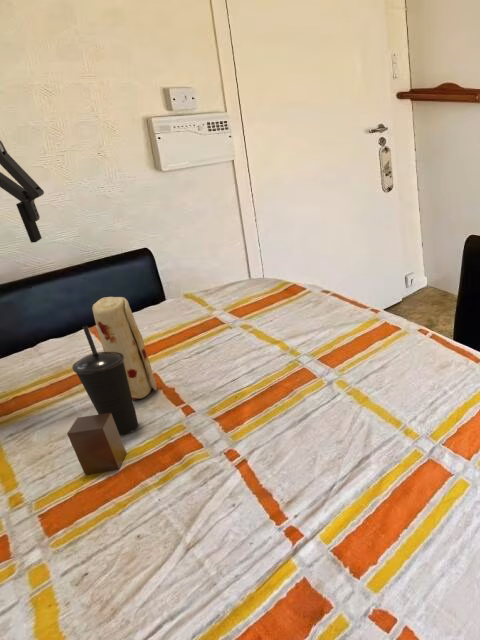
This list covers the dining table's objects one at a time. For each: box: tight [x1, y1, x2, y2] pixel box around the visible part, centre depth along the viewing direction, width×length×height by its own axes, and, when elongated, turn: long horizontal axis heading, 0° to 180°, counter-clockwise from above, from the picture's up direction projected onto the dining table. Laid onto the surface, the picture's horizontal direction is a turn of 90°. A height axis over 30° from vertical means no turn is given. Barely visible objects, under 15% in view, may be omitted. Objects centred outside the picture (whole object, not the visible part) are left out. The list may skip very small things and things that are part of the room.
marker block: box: [66, 413, 127, 476], centre depth 101 cm, size 5×5×8 cm
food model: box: [91, 296, 158, 401], centre depth 120 cm, size 10×7×20 cm
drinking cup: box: [71, 325, 139, 436], centre depth 108 cm, size 8×8×20 cm
